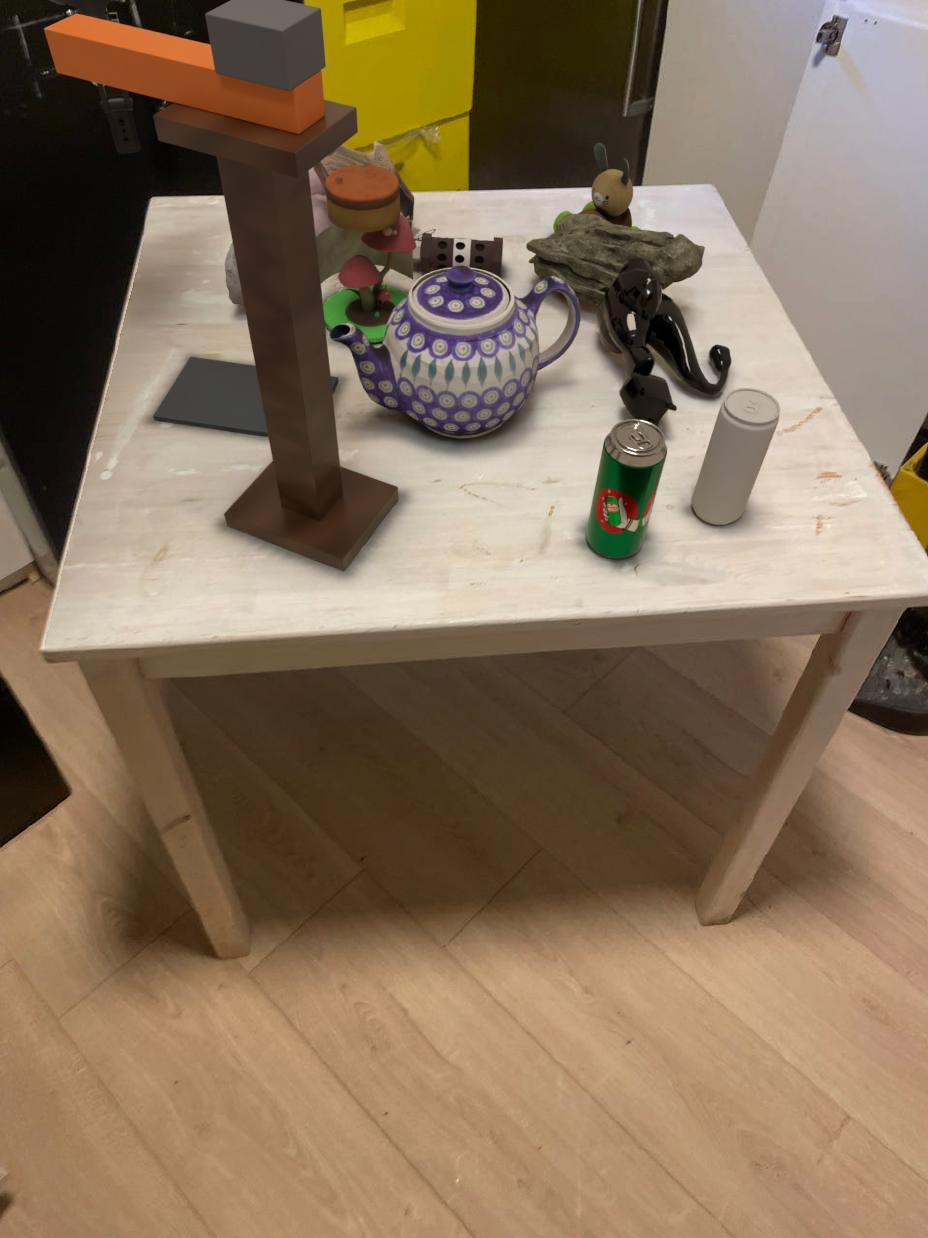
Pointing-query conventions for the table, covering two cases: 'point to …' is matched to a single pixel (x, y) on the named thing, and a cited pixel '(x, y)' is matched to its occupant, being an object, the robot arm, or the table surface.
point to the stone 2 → (609, 254)
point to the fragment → (376, 158)
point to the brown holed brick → (458, 253)
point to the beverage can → (735, 454)
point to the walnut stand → (286, 330)
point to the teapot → (459, 350)
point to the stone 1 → (233, 278)
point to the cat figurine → (652, 342)
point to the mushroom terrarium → (364, 247)
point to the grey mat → (217, 397)
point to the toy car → (609, 193)
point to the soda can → (626, 487)
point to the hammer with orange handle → (210, 61)
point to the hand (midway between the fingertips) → (125, 132)
